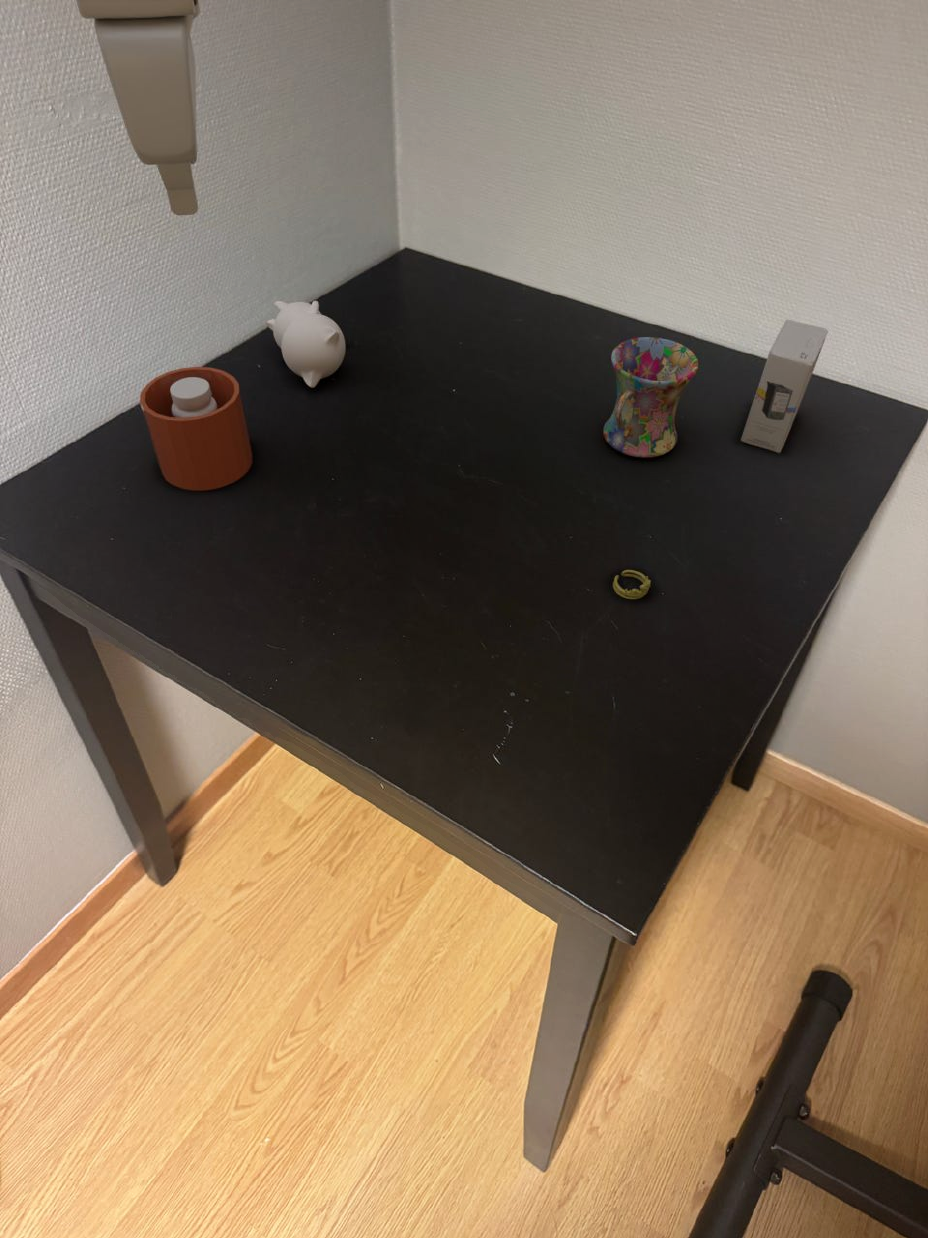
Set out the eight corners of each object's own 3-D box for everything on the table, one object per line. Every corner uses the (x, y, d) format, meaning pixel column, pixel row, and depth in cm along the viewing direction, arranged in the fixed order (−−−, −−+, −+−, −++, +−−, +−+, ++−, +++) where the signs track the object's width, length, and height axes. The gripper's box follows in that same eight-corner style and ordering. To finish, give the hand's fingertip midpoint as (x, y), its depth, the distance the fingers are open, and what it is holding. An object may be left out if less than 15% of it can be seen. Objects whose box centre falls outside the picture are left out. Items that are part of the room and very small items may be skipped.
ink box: (756, 406, 106) (784, 315, 97) (797, 417, 104) (830, 326, 96) (738, 443, 100) (766, 351, 92) (781, 456, 99) (814, 363, 90)
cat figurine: (276, 276, 106) (311, 316, 99) (348, 305, 113) (386, 344, 106) (250, 341, 110) (282, 384, 103) (321, 365, 117) (356, 407, 110)
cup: (160, 496, 92) (138, 425, 85) (162, 441, 99) (141, 371, 92) (255, 485, 94) (240, 414, 87) (250, 432, 100) (237, 362, 94)
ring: (627, 609, 83) (639, 593, 81) (605, 584, 84) (616, 568, 81) (650, 593, 85) (663, 577, 82) (628, 569, 86) (640, 552, 83)
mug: (622, 409, 105) (637, 327, 97) (692, 436, 101) (713, 354, 93) (571, 456, 98) (582, 373, 90) (644, 487, 94) (662, 404, 87)
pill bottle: (190, 470, 94) (172, 404, 88) (178, 447, 97) (160, 381, 91) (232, 459, 95) (218, 393, 89) (220, 436, 98) (205, 371, 92)
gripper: (95, -80, 60) (146, 137, 70) (68, -11, 46) (136, 247, 56) (189, -82, 61) (225, 133, 71) (189, -14, 47) (234, 240, 57)
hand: (186, 184), depth 63 cm, fingers open, 8 cm apart
